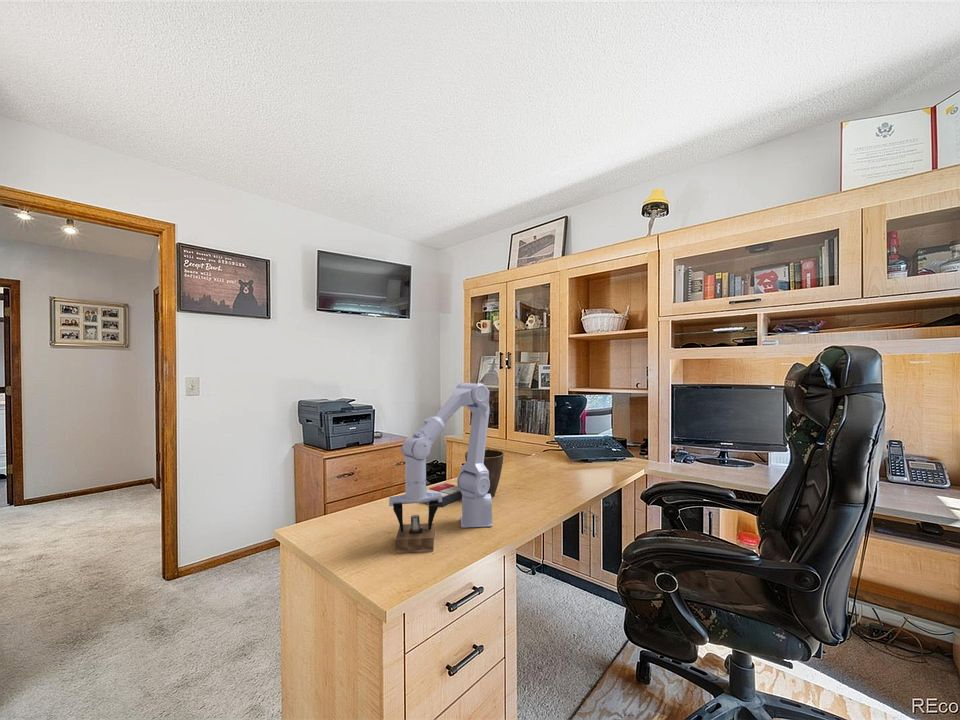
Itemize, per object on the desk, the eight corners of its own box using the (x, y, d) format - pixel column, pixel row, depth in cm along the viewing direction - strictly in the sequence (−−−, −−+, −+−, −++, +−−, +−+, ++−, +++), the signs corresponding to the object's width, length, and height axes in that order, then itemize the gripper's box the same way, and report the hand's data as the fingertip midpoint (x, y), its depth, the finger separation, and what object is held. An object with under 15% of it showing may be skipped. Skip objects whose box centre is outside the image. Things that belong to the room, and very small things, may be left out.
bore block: (434, 535, 115) (434, 523, 115) (433, 551, 105) (433, 538, 105) (399, 536, 114) (399, 524, 114) (395, 552, 104) (395, 539, 104)
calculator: (467, 487, 150) (442, 495, 138) (467, 498, 150) (441, 508, 137) (445, 482, 156) (419, 490, 144) (445, 493, 156) (419, 501, 144)
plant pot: (457, 495, 150) (456, 453, 151) (484, 486, 161) (484, 447, 161) (484, 504, 140) (484, 459, 140) (512, 495, 150) (511, 453, 150)
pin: (420, 539, 111) (419, 514, 111) (420, 542, 109) (419, 517, 109) (411, 540, 111) (410, 515, 111) (411, 543, 108) (410, 518, 108)
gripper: (440, 474, 115) (440, 521, 115) (389, 477, 112) (389, 525, 112) (442, 481, 108) (443, 531, 108) (389, 485, 105) (389, 536, 105)
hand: (415, 529), depth 110 cm, fingers open, 7 cm apart
